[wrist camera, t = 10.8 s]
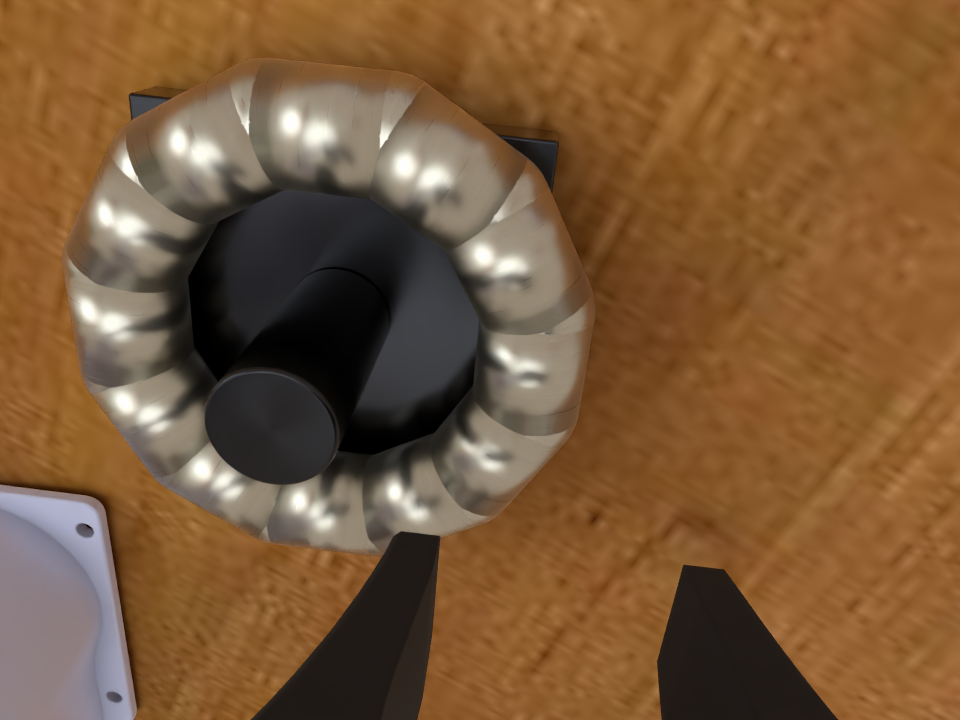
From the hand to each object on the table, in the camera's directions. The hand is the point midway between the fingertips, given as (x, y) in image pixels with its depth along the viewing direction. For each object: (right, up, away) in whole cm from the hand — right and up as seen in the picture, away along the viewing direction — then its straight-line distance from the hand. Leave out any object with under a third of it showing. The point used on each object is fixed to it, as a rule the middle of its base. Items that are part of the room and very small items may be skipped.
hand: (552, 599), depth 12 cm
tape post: (-4, +5, +7) cm, 10 cm away
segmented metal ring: (-4, +4, +5) cm, 8 cm away
